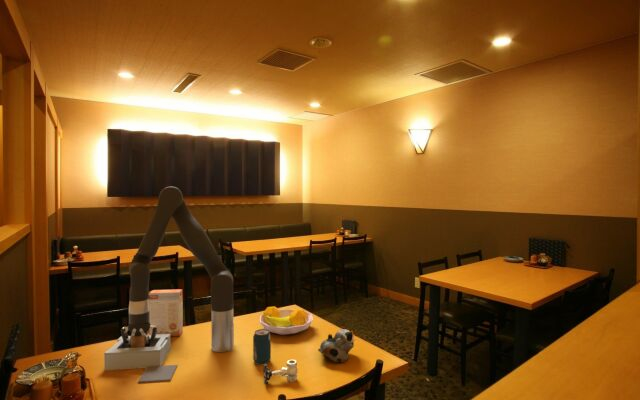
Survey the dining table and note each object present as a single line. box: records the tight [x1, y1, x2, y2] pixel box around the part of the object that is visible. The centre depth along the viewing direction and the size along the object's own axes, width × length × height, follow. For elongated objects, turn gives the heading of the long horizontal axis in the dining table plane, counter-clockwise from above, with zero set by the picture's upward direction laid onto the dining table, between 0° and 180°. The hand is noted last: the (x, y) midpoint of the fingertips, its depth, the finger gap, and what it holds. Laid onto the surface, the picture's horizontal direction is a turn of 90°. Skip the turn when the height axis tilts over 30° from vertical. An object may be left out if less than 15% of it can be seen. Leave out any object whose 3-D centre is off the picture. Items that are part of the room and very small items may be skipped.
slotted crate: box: [103, 334, 172, 371], centre depth 148 cm, size 20×16×7 cm
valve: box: [263, 359, 299, 385], centre depth 131 cm, size 7×7×12 cm
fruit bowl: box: [259, 306, 314, 336], centre depth 180 cm, size 28×27×11 cm
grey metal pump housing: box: [317, 328, 355, 364], centre depth 151 cm, size 15×12×14 cm
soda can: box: [252, 328, 272, 366], centre depth 146 cm, size 7×7×12 cm
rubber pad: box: [137, 364, 178, 384], centre depth 136 cm, size 11×11×1 cm
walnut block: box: [131, 333, 147, 348], centre depth 147 cm, size 5×5×8 cm
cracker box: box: [148, 288, 184, 337], centre depth 173 cm, size 14×6×21 cm, turn 95°
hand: (139, 351), depth 148 cm, fingers closed on walnut block, 5 cm apart
